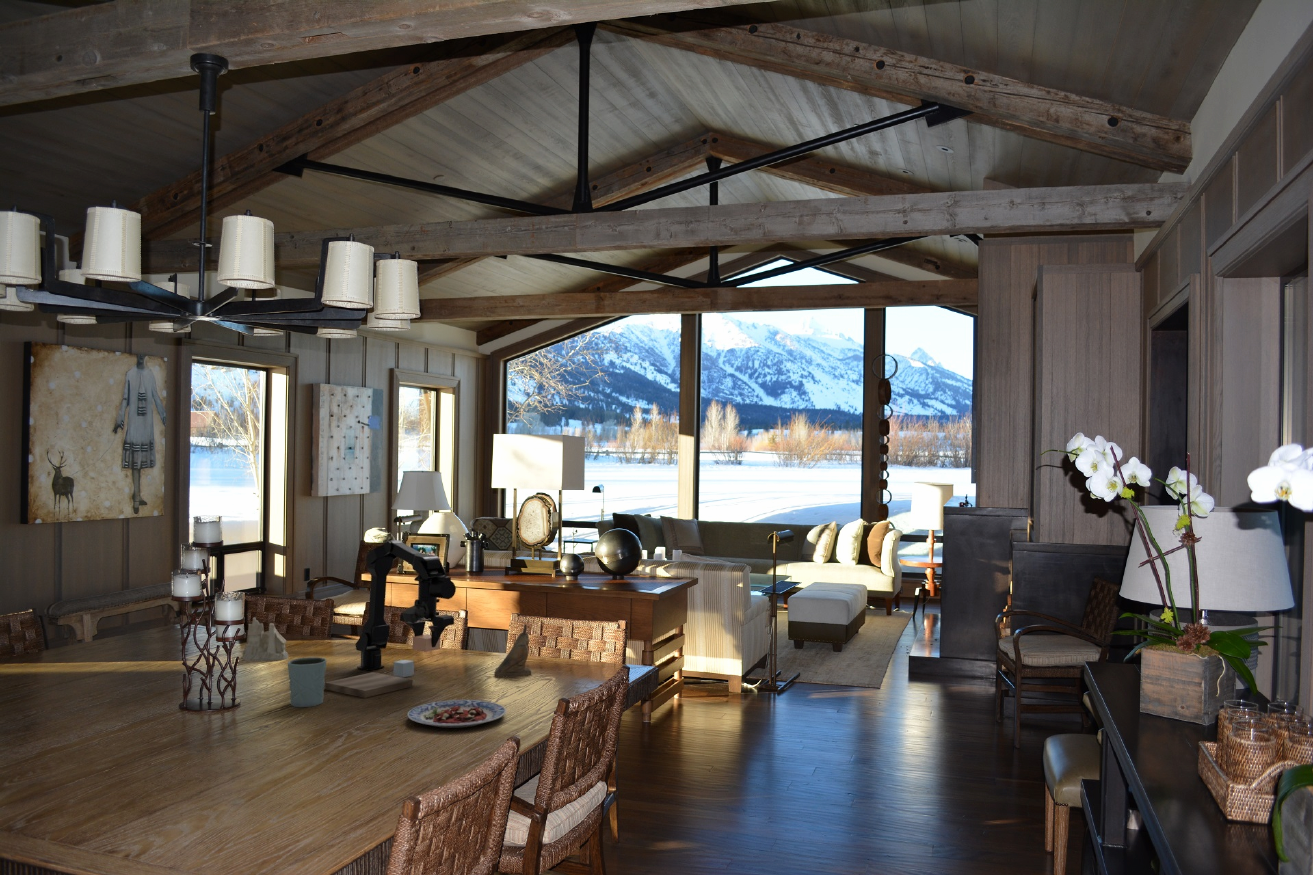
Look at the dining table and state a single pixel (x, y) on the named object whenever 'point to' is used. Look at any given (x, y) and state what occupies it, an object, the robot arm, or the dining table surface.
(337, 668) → the dining table surface
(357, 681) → the walnut base
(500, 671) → the worn brown figurine
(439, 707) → the ceramic plate
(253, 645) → the beige sandcastle sculpture
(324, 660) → the blue green cup
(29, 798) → the dining table surface
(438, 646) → the terracotta block
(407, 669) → the grey blue cube
